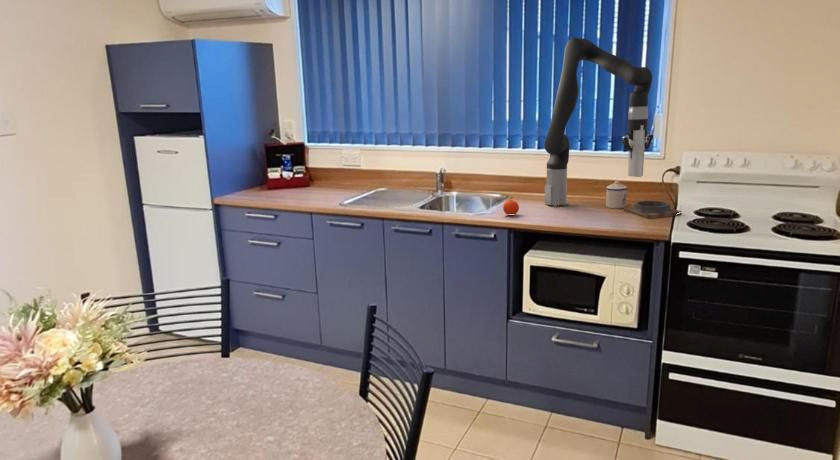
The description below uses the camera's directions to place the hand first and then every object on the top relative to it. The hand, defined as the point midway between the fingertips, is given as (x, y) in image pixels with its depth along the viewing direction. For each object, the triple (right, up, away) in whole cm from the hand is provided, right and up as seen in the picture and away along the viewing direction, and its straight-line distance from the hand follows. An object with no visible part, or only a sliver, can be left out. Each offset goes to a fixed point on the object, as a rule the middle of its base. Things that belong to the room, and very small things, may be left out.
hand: (636, 159), depth 242 cm
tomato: (-50, -23, +16) cm, 57 cm away
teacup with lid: (0, -18, +25) cm, 31 cm away
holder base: (+9, -22, +8) cm, 25 cm away
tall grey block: (0, -7, +2) cm, 7 cm away
